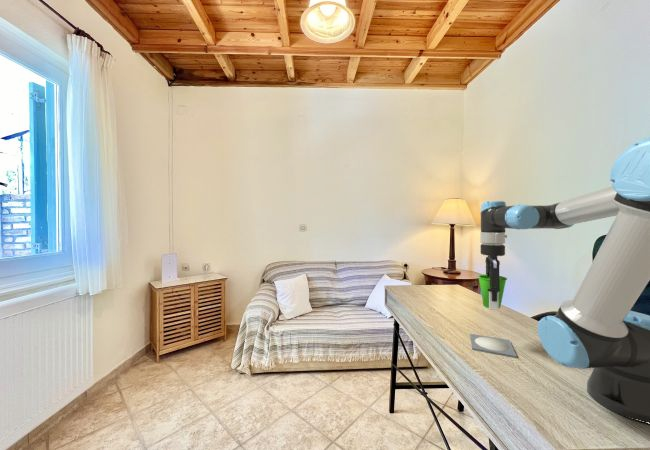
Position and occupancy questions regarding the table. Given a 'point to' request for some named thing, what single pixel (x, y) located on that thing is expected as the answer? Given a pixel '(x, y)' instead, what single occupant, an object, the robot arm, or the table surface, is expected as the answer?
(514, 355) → the coaster
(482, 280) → the cup
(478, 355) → the table surface
